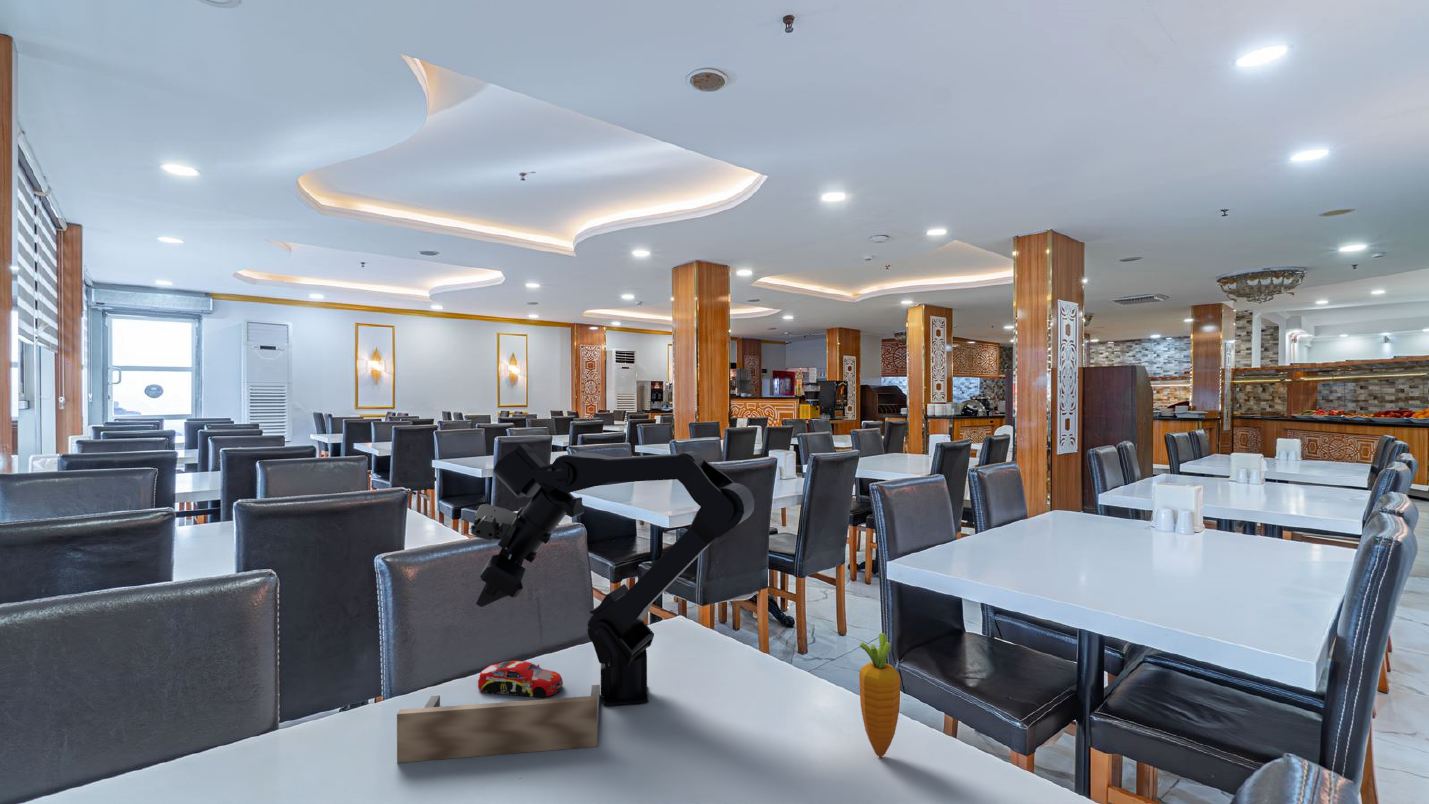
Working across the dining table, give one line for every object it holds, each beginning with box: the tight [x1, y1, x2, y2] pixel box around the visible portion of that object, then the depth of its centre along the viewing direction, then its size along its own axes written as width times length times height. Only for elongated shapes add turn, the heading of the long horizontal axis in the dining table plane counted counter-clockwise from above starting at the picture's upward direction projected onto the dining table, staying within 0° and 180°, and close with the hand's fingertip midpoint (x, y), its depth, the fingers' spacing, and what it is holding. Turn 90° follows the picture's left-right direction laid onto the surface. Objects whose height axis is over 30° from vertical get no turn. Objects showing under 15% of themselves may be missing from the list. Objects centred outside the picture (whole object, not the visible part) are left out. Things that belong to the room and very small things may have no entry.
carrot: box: [858, 632, 901, 758], centre depth 81 cm, size 5×5×15 cm
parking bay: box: [396, 684, 601, 764], centre depth 89 cm, size 24×15×6 cm, turn 99°
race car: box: [477, 660, 564, 699], centre depth 100 cm, size 13×5×4 cm, turn 78°
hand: (486, 588), depth 105 cm, fingers open, 9 cm apart
